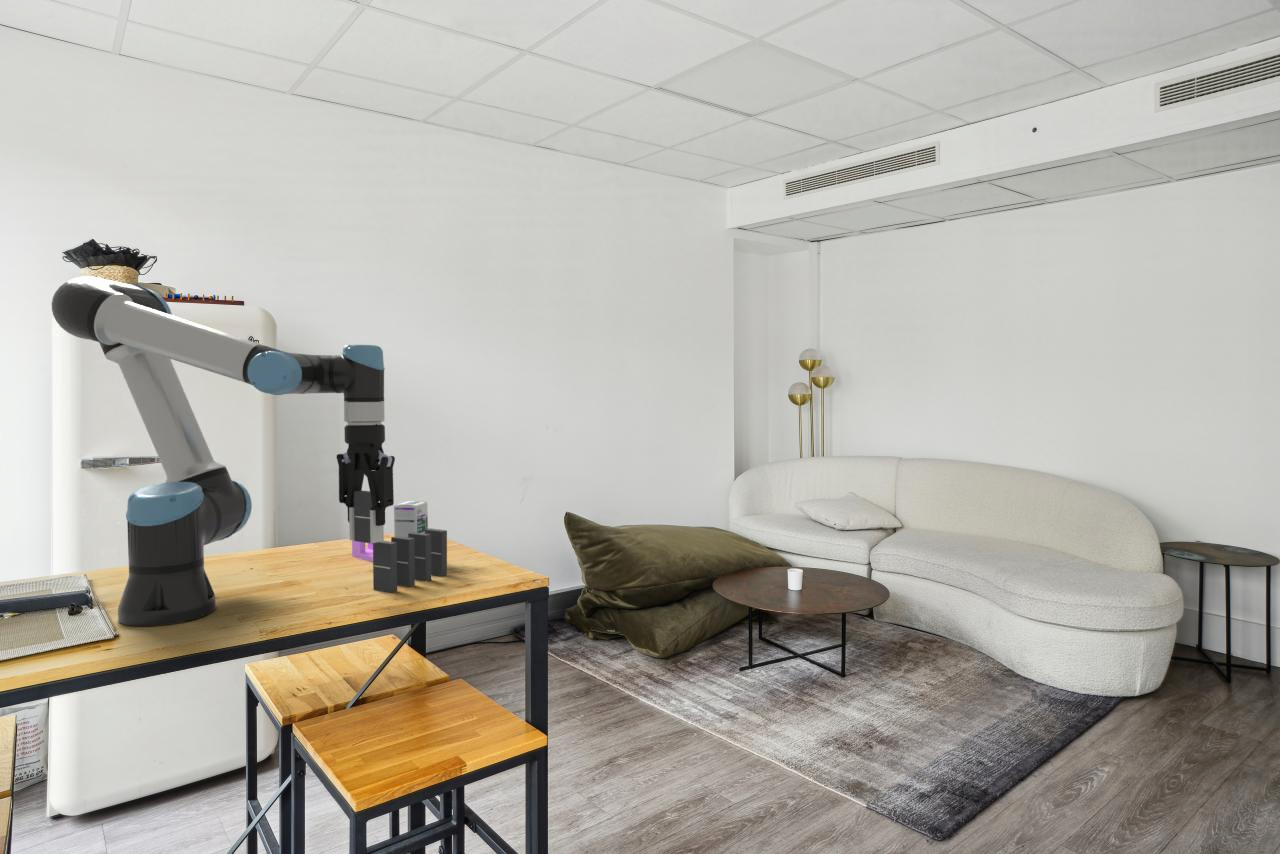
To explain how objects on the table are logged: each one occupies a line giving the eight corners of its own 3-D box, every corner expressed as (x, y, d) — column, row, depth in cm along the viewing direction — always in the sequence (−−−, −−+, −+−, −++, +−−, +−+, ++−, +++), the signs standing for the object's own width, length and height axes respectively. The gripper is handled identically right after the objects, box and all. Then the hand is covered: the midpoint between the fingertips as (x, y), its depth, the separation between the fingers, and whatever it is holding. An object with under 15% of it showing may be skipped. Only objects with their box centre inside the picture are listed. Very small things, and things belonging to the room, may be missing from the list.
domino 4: (408, 578, 166) (408, 533, 165) (414, 577, 167) (413, 532, 167) (425, 581, 164) (425, 535, 163) (431, 579, 165) (431, 534, 165)
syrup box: (417, 567, 176) (416, 505, 176) (393, 565, 178) (393, 503, 177) (428, 561, 182) (428, 501, 181) (406, 560, 183) (405, 500, 182)
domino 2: (373, 589, 157) (372, 541, 156) (379, 587, 159) (379, 540, 158) (391, 592, 155) (390, 544, 154) (397, 590, 156) (397, 542, 156)
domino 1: (354, 541, 152) (353, 491, 151) (360, 539, 153) (360, 490, 153) (372, 543, 150) (371, 493, 149) (379, 542, 151) (378, 492, 151)
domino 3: (391, 584, 161) (391, 537, 161) (397, 582, 163) (396, 535, 162) (409, 587, 159) (408, 539, 159) (414, 585, 161) (414, 538, 160)
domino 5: (424, 573, 170) (424, 529, 170) (430, 572, 172) (429, 528, 171) (441, 576, 168) (441, 531, 168) (447, 575, 170) (447, 530, 169)
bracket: (352, 556, 187) (351, 528, 187) (372, 553, 191) (372, 525, 191) (381, 565, 179) (380, 535, 178) (402, 561, 183) (401, 532, 183)
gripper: (412, 423, 150) (414, 541, 151) (347, 421, 158) (349, 533, 159) (384, 425, 143) (385, 548, 144) (317, 423, 151) (319, 539, 152)
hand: (366, 540), depth 152 cm, fingers closed on domino 1, 5 cm apart
